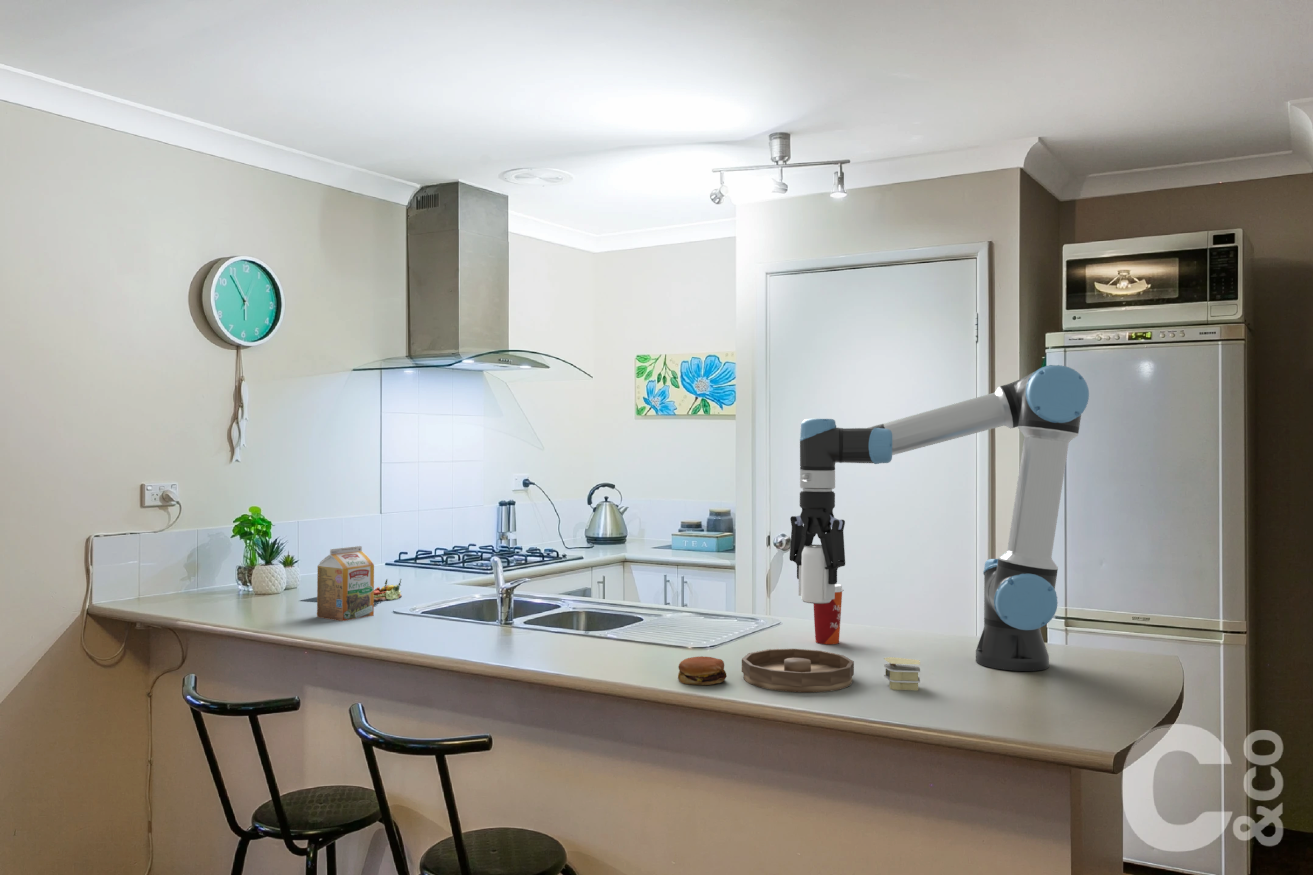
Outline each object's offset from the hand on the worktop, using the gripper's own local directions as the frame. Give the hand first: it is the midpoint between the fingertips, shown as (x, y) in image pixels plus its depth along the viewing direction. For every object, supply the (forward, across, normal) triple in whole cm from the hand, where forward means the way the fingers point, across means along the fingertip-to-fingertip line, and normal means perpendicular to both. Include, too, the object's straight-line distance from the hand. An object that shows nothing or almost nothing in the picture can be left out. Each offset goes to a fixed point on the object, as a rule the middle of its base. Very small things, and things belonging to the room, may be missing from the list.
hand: (816, 596), depth 208 cm
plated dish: (+17, -148, -43) cm, 155 cm away
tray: (+15, +5, -11) cm, 19 cm away
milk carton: (+16, -120, -58) cm, 135 cm away
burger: (+16, -6, -27) cm, 32 cm away
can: (+1, 0, 0) cm, 1 cm away
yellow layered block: (+16, +22, +1) cm, 27 cm away
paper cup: (+15, -17, +22) cm, 32 cm away
